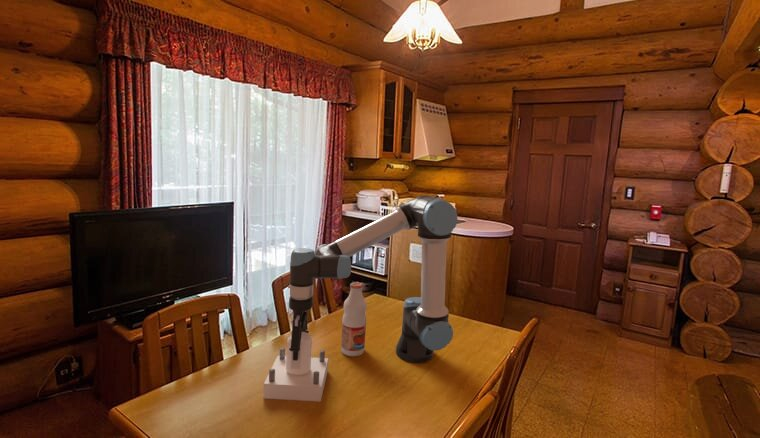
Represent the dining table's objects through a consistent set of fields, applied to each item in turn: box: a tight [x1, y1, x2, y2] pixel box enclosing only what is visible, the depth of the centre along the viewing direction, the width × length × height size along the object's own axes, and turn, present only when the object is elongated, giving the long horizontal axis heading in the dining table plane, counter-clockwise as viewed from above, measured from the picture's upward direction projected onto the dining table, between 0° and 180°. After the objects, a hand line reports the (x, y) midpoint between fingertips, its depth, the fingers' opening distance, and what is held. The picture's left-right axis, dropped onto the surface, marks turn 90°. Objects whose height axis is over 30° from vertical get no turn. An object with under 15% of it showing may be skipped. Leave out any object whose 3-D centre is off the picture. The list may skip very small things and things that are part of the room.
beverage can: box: [286, 332, 313, 375], centre depth 133 cm, size 8×8×12 cm
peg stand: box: [263, 347, 329, 402], centre depth 134 cm, size 18×18×8 cm
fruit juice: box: [340, 281, 368, 357], centre depth 157 cm, size 9×9×28 cm
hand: (298, 360), depth 133 cm, fingers open, 9 cm apart
